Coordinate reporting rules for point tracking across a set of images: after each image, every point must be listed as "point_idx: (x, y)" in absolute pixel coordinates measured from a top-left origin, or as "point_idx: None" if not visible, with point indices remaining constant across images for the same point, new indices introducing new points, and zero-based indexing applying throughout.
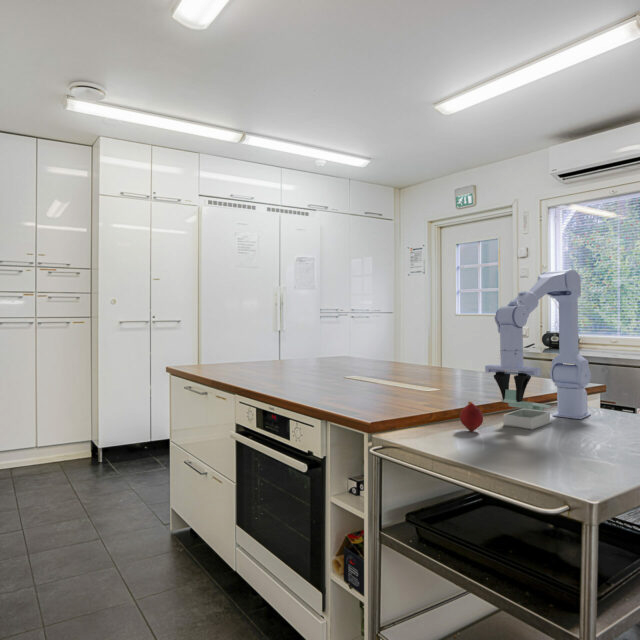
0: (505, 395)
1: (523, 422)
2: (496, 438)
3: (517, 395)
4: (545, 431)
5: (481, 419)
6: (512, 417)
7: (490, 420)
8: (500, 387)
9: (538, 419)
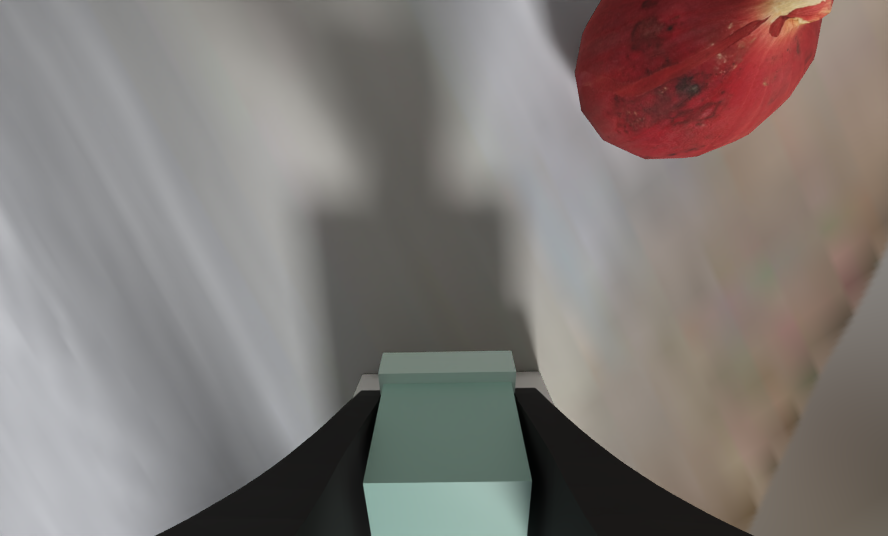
0: (511, 411)
1: None
2: (405, 7)
3: (350, 419)
4: (292, 385)
5: (579, 58)
6: None
7: (661, 445)
8: (604, 465)
9: None
